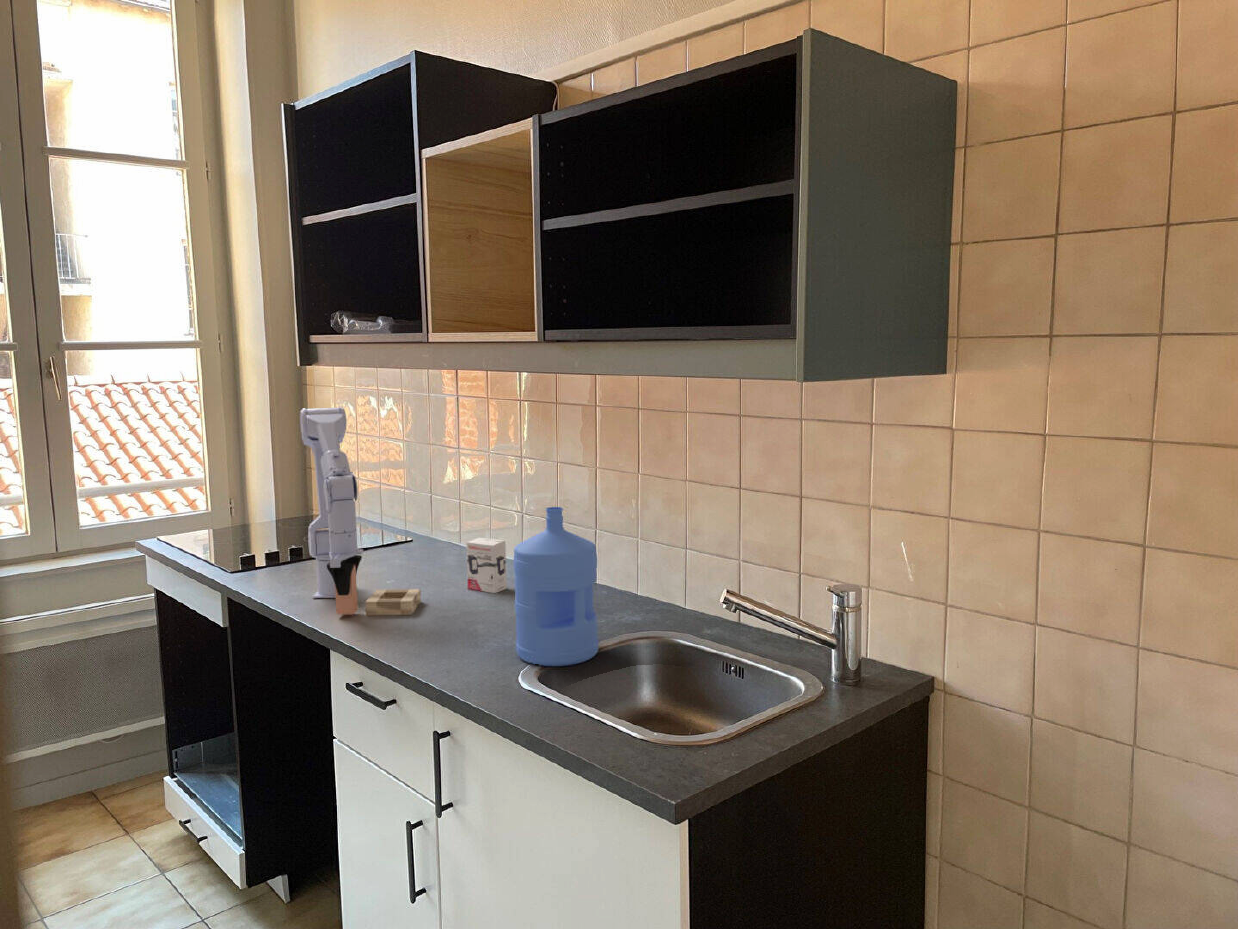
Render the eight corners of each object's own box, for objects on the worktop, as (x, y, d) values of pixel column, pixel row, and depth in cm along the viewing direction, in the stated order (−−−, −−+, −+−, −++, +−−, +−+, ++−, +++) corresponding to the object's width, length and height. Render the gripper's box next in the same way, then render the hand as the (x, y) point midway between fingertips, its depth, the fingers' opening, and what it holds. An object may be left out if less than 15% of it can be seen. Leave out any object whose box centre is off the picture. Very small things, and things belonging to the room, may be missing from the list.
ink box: (466, 589, 222) (465, 541, 221) (479, 584, 226) (478, 537, 225) (495, 593, 218) (493, 544, 216) (508, 588, 222) (506, 540, 221)
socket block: (376, 602, 212) (376, 589, 211) (420, 601, 212) (420, 588, 212) (365, 615, 202) (365, 602, 202) (412, 614, 202) (411, 601, 202)
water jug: (499, 654, 176) (494, 509, 172) (561, 635, 187) (558, 498, 183) (552, 674, 165) (549, 520, 161) (615, 652, 176) (613, 507, 172)
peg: (341, 609, 204) (338, 565, 202) (357, 609, 204) (355, 565, 202) (336, 614, 200) (334, 569, 199) (353, 614, 200) (350, 569, 199)
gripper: (352, 537, 192) (355, 601, 194) (369, 523, 207) (372, 582, 208) (318, 538, 192) (322, 601, 194) (338, 524, 206) (341, 583, 208)
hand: (346, 592), depth 201 cm, fingers closed on peg, 4 cm apart
